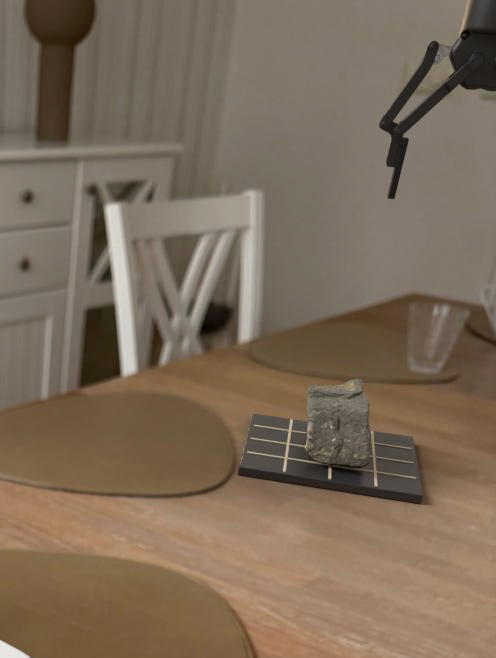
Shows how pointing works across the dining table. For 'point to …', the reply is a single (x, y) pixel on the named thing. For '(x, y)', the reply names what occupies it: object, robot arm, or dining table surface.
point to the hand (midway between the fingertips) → (449, 203)
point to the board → (299, 468)
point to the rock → (338, 424)
